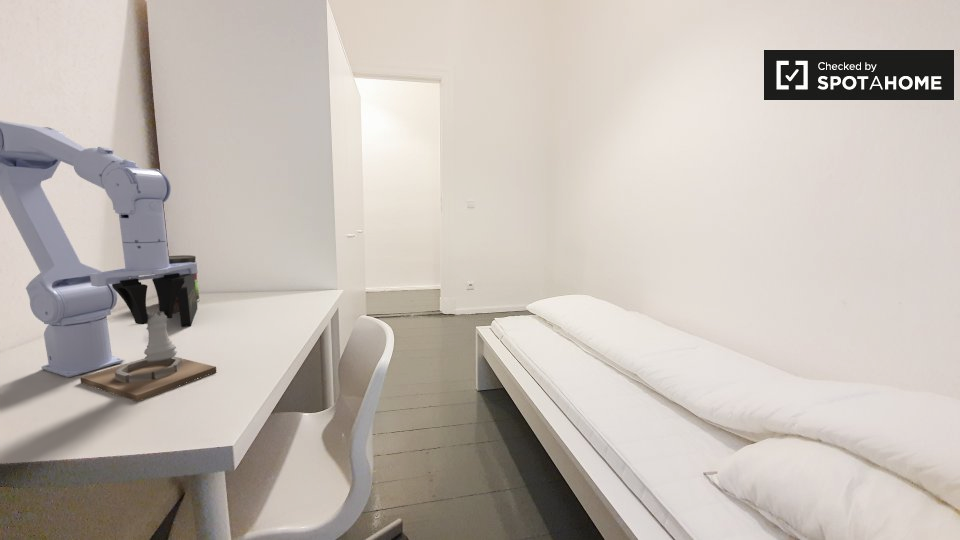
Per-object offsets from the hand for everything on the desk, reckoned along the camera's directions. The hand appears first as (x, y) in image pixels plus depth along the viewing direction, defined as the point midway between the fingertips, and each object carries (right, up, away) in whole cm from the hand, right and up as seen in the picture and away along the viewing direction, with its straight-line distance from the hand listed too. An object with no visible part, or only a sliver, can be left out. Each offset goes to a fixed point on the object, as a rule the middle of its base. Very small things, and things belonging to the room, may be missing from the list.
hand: (154, 320), depth 68 cm
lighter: (-30, -3, +42) cm, 52 cm away
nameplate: (-22, -4, +38) cm, 44 cm away
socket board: (-1, -10, 0) cm, 10 cm away
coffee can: (-37, -2, +54) cm, 65 cm away
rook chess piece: (+1, -7, +1) cm, 7 cm away
